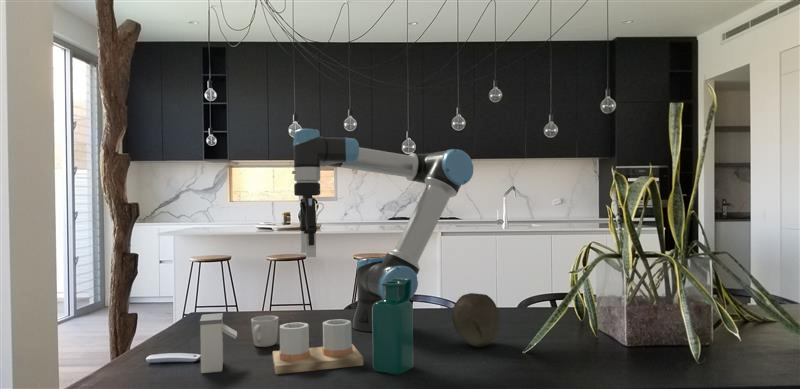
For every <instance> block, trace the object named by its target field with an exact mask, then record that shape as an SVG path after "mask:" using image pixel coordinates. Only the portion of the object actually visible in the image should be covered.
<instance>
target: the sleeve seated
mask: <svg viewBox="0 0 800 389" xmlns="http://www.w3.org/2000/svg"><path fill="white" fill-rule="evenodd" d="M352 338H353V337H352V321H351V320H349V319H344V318H343V319H342V318H337V319H328V320H324V321H323V322H322V345H321V347H322V352H323V354H324V355H325V356H332V357H337V356H346V355H348V354H351V353H353V348H352V344H353V343H352Z"/></svg>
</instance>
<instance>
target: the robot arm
mask: <svg viewBox="0 0 800 389" xmlns="http://www.w3.org/2000/svg"><path fill="white" fill-rule="evenodd" d="M292 144H293V145H292V147H293V169H294V170H292V171H291V174H292V175H294V176H293V178H294V179H293V180H294V181H295V182H294V184H293V188H294V190H293V191H294V192H293V194H294V196H297V197H302V198H300V202H299V207H300V210H299V211H300V222H299V223H300V225H299V228H300V253H301V254H305V257H306V258H316V257H317V231H318V228H317V218H316V200H315V198H313V197H315V196H317V197H318V196H320V195H321V184H320V182H319V181H321V167H334V168H342V169H349V170H355V171H361V172H362V171H363V172H371V173H375V174H382V175H383V174H384V175H389V176H395V177H397V176H398V177H404V178H405V179H406V180H407V181H411V182H417V183H421V184H425V186H426V187H425V188H424V191H423V192H422V193H421V196H420V198H419V200H418V202H417V204H416V206H415V208H414V210H413V212H412V214H411V215H410V218H409V219H408V221H407V223H406V225H405V227H404V229H403V232H402V234H401V235H400V237H399V239H398V241H397V243H396V245H395V247H394V249H393V250H391V251H387V252H386V255H385V256H384V257H383V256H382V257H372V258H361V259H359V260H358V261H357V263H356V264H357V265H356V281H357V288H356V289H357V290H356V291H357V305H356V309H355V312H354V316H353V320H352V328H353V329H354V330H357V331H361V332H372V306H373V304H374V303H375V302H377V301H380V300H382V299H384V297H385V286H382V285H381V284H382V283H383V282H387V281H392V280H393V278H400V279H411V296H410V299H412V298H413V297H414V295H415V294H416V292H417V290H418V287H419V281H418V276H417V275H418V274H419V272H420V271H421V270H420V266H419V261H420V259H421V257H422V256H423V255H422V254H423V253H424V251H425V248H426V246H427V245H428V242H429V241H430V239H431V236H432V234H433V232H434V230H435V228H436V226H437V224H438V222H439V220H440V218H441V216H442V214H443V212H444V210H445V208H446V207H447V204H448V202H449V200H450V199H451V198H454V197H456V196H457V194H458V192H459V190H460V188H461V186H463V185H466V184H468V183H469V182H470V180H472V178H473V176H474V165H473V161H472V158H471V157H470V156H469V154H468V153H466V152H465V151H464V150H462V149H455V148H451V149H450V148H449V149H447V150H443V151H442V150H441V151H436V152H430V153H415V152H414V153H413V152H412V153H409V154H408V155H407V154H402V153H396V152H390V151H389V152H388V151H385V150H378V149H373V148H372V149H371V148H366V147H360V145H359V142H358V140H357V139H356V138H354V137H353V138H352V137H351V138H350V137H347V136H345V137H335V136H333V137H325V136H321V135H320V130H318V129H316V128H315V129H313V128H300V129H296V130H295V131H294V133H293V143H292Z"/></svg>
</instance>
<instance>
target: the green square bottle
mask: <svg viewBox="0 0 800 389" xmlns="http://www.w3.org/2000/svg"><path fill="white" fill-rule="evenodd" d="M381 285H382V286H385V297H384V299H382V300H380V301H377V302H375V303H374V304H373V306H372V331H371V332H372V338H371V339H372V369H373V371H374V372H377V373H383V374H389V375H393V376H394V375H396V376H397V375H402V374H405V373H406V372H407V371H409V370H411V369H413V367H414V326H413V325H414V324H413V323H414V319H413V318H414V316H413V312H414V310H413V304H412V302H411V301H410V299H411V298H410V296H411V279H400V278H393V280H392V281H387V282H383V283H382V284H381Z"/></svg>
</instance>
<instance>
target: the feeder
mask: <svg viewBox="0 0 800 389" xmlns="http://www.w3.org/2000/svg"><path fill="white" fill-rule="evenodd" d="M223 317H224V313H223V312H221V313H219V312H218V313H208V314H202V315H201V316H200V320H199V326H200V328H199V329H200V330H199V331H200V333H199V334H200V374H209V373H219V372H222V371H223V367H224V366H223V365H224V336H223V335H224V334H226V335H228V336H229V337H231V338H233V339H234V340H236V339H237V337H238V331H237V330H235V329H233V328H231V327H229V326H228V325H227V324H225V323H224V321H223V319H224V318H223ZM223 333H224V334H223Z"/></svg>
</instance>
